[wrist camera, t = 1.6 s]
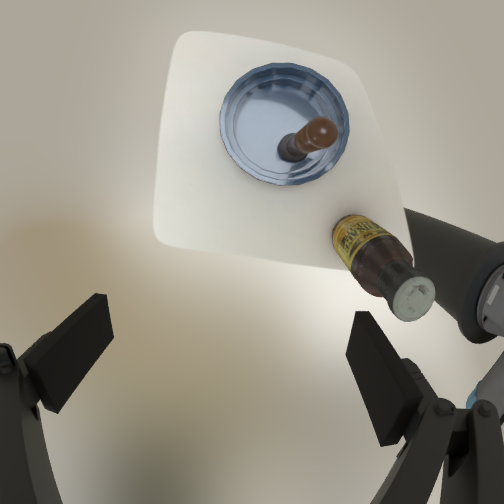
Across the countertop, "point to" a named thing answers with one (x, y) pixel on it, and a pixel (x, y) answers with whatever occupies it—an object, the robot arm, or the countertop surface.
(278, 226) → the countertop surface
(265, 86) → the bowl
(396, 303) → the sauce bottle
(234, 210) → the countertop surface
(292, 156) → the wooden pestle
